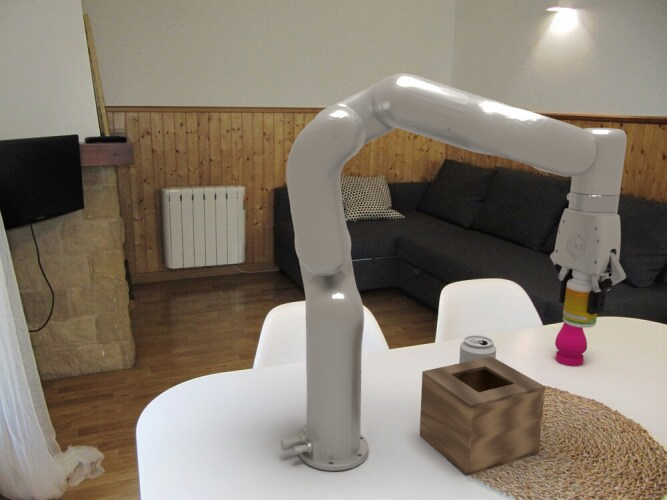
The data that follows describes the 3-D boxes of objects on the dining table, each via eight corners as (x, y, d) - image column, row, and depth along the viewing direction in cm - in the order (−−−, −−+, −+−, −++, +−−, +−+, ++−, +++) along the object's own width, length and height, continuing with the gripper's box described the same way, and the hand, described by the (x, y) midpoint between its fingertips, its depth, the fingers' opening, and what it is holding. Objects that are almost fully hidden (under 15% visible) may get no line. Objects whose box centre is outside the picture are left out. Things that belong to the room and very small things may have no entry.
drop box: (466, 475, 99) (470, 405, 96) (419, 435, 111) (422, 371, 108) (538, 453, 105) (545, 386, 102) (487, 416, 118) (491, 356, 115)
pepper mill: (590, 367, 141) (599, 287, 136) (559, 367, 141) (567, 286, 136) (578, 355, 148) (586, 278, 143) (549, 354, 148) (556, 278, 143)
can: (493, 400, 124) (497, 347, 121) (457, 397, 126) (460, 344, 123) (491, 385, 131) (495, 334, 129) (457, 381, 133) (460, 331, 130)
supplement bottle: (592, 330, 99) (600, 275, 97) (559, 324, 102) (565, 270, 100) (598, 321, 104) (604, 268, 101) (565, 315, 106) (571, 263, 104)
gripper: (538, 197, 104) (528, 295, 108) (621, 213, 89) (606, 326, 93) (569, 195, 107) (558, 291, 111) (655, 210, 92) (639, 320, 96)
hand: (580, 306), depth 102 cm, fingers closed on supplement bottle, 5 cm apart
